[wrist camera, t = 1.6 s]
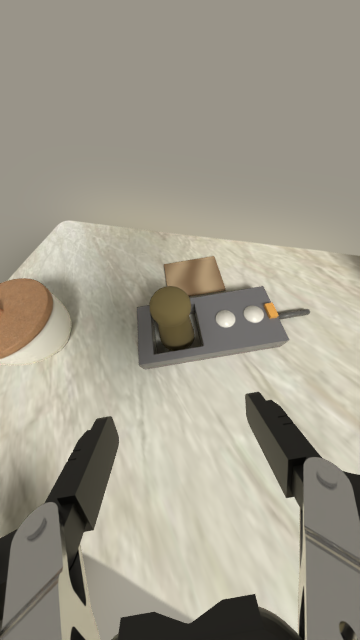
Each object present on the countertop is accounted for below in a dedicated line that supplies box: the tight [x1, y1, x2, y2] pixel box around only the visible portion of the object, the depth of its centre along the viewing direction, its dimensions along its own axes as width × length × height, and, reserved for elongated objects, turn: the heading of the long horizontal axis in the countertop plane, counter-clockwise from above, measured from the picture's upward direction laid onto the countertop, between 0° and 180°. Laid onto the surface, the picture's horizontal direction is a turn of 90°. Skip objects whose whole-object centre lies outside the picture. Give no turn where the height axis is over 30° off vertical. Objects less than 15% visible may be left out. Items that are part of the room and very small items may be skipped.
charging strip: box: [137, 286, 310, 369], centre depth 28 cm, size 29×10×4 cm, turn 98°
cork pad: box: [164, 256, 225, 297], centre depth 35 cm, size 11×9×1 cm
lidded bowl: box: [0, 278, 71, 365], centre depth 26 cm, size 13×13×11 cm
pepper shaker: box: [149, 286, 195, 351], centre depth 24 cm, size 6×6×11 cm
